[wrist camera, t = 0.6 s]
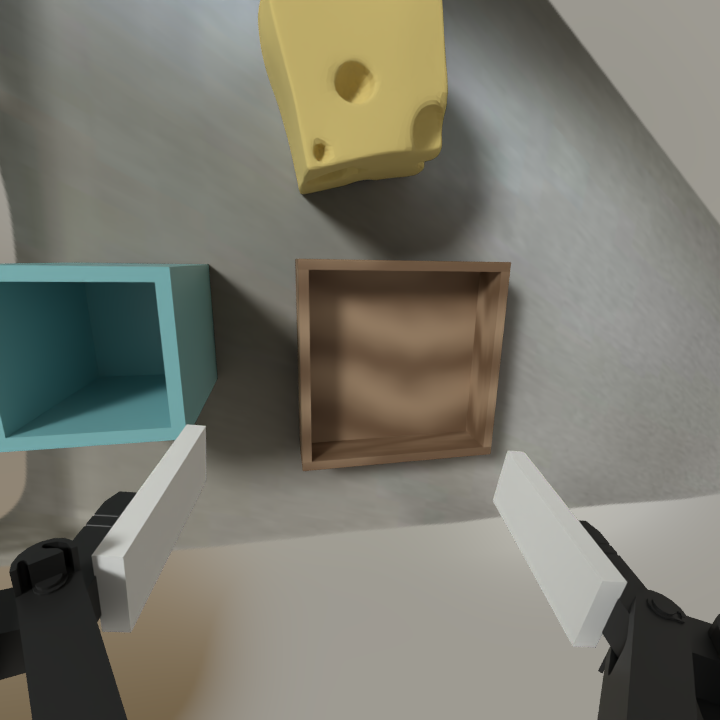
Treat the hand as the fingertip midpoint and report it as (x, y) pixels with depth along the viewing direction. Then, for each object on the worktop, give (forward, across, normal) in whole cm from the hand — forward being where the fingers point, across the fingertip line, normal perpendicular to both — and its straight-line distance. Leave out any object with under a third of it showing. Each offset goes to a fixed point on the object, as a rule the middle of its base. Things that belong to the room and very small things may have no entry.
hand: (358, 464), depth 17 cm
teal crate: (+18, -17, 0) cm, 25 cm away
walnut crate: (+21, +5, -2) cm, 22 cm away
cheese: (+23, -2, +17) cm, 29 cm away
